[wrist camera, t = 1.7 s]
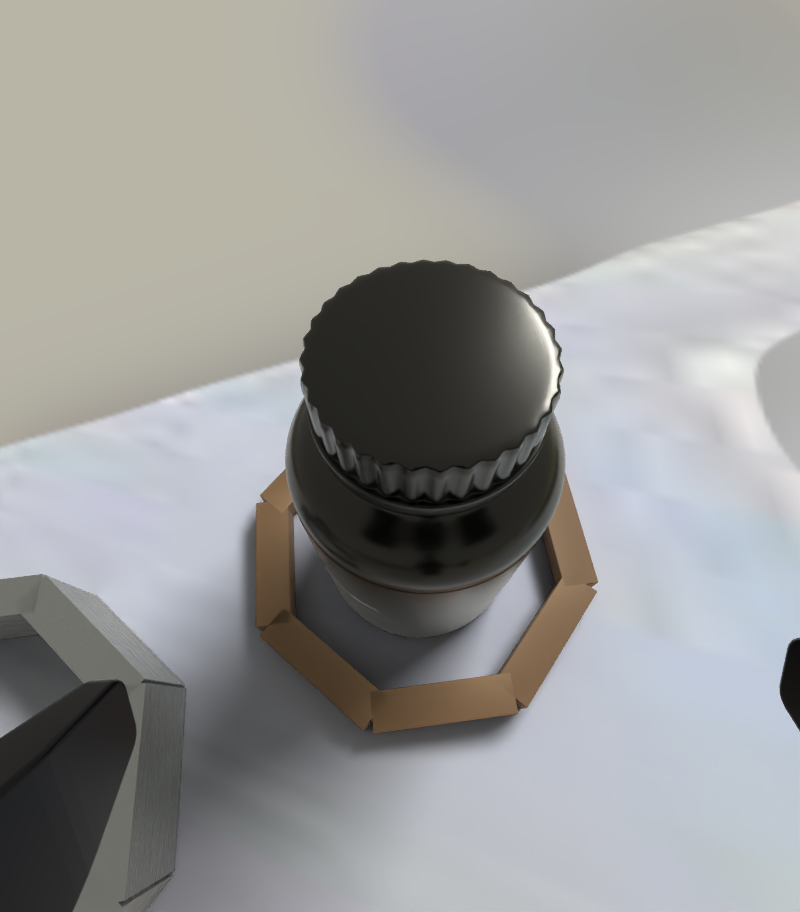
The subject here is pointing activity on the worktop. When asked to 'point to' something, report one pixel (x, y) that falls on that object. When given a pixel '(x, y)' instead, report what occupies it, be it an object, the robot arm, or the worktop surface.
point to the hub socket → (157, 740)
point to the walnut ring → (425, 700)
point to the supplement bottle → (426, 441)
